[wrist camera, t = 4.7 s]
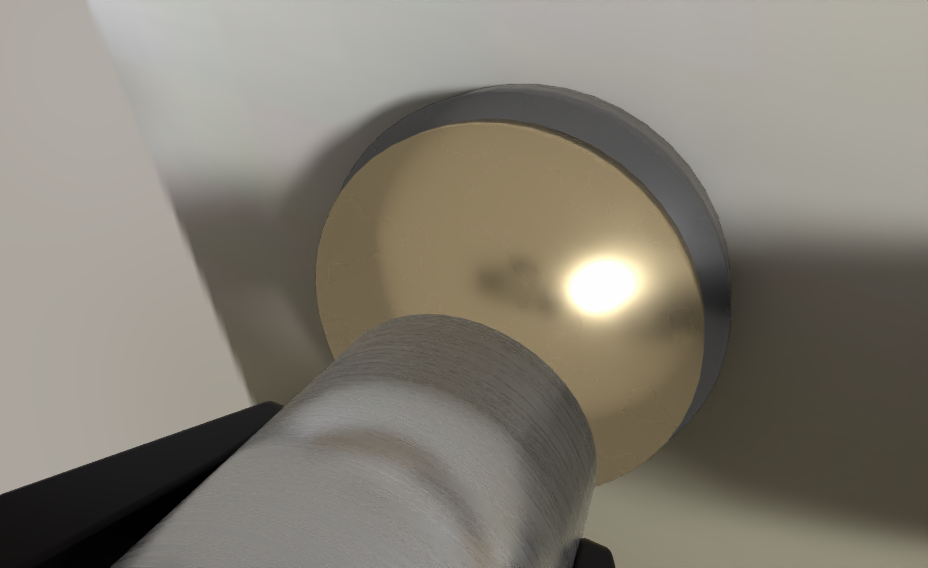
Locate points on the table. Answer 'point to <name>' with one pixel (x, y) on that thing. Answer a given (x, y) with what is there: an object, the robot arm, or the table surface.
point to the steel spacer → (399, 465)
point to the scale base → (630, 149)
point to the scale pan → (527, 268)
